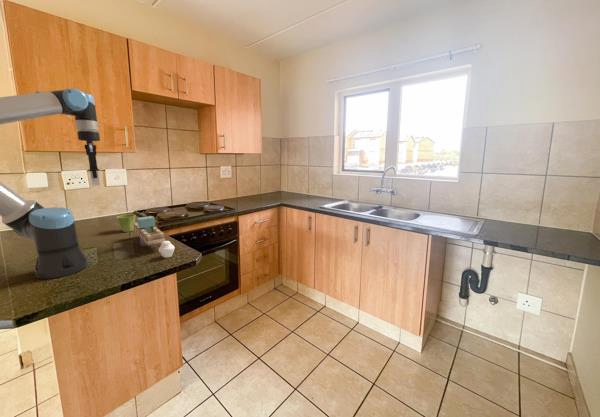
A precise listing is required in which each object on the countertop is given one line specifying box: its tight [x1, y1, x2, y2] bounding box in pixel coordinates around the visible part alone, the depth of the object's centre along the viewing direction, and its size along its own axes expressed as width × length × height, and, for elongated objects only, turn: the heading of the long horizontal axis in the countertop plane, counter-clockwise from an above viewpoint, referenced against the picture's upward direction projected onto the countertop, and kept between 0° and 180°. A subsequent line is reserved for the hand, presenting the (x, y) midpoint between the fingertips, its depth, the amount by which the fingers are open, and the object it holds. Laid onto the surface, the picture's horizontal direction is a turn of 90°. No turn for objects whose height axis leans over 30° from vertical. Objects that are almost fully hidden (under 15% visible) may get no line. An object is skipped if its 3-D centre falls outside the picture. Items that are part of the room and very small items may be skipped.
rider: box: [136, 215, 156, 233], centre depth 127 cm, size 5×6×7 cm
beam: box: [133, 221, 166, 248], centre depth 128 cm, size 32×7×8 cm, turn 41°
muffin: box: [158, 240, 175, 259], centre depth 112 cm, size 6×6×7 cm
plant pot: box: [116, 213, 137, 233], centre depth 151 cm, size 9×9×9 cm
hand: (96, 185), depth 119 cm, fingers closed
